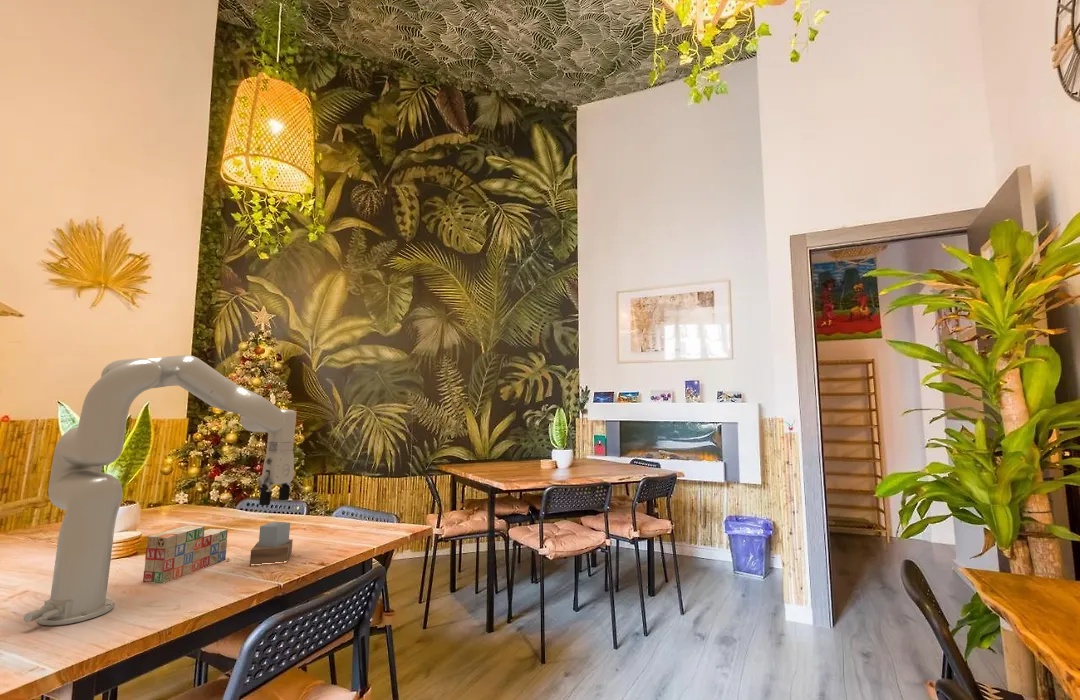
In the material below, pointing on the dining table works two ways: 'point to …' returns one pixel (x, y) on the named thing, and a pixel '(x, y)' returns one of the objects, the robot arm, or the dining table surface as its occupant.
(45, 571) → the dining table surface
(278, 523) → the grey cube
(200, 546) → the stack of blocks
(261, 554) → the walnut block
